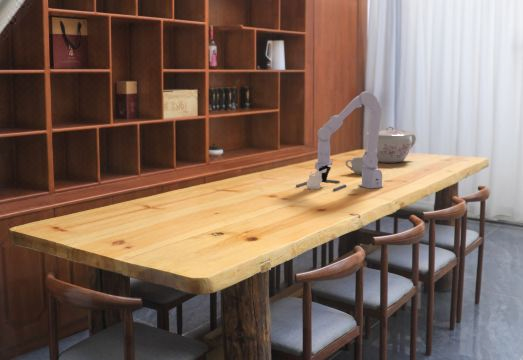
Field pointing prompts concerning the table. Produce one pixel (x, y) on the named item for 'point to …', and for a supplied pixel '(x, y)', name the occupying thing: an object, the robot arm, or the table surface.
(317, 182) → the white figurine
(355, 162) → the teacup
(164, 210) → the table surface
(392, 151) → the chamber pot
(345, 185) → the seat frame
